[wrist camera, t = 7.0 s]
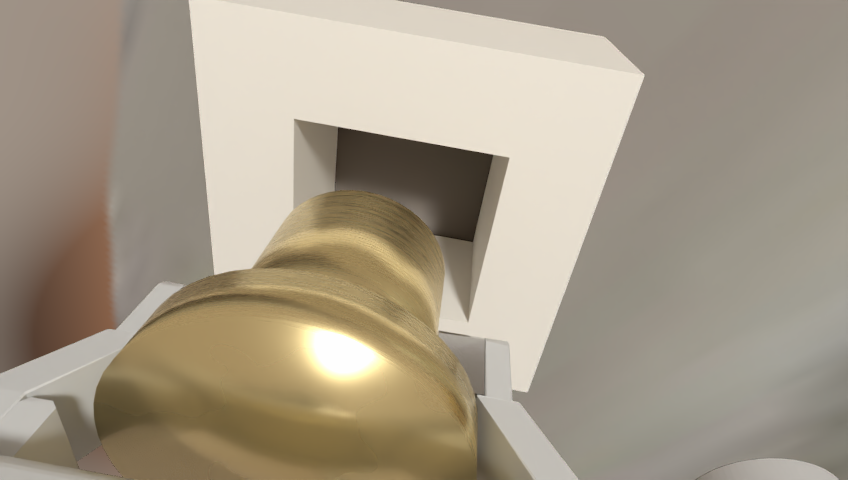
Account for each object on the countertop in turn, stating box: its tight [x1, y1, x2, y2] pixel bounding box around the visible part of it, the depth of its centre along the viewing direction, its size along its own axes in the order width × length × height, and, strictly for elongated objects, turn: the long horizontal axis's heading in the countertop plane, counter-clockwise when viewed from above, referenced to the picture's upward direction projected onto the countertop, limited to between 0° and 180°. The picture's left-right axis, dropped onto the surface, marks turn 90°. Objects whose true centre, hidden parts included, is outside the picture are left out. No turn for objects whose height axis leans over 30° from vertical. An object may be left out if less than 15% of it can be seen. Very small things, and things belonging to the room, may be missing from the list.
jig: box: [189, 0, 645, 392], centre depth 17 cm, size 11×11×5 cm
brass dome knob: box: [93, 190, 478, 480], centre depth 11 cm, size 6×6×6 cm
